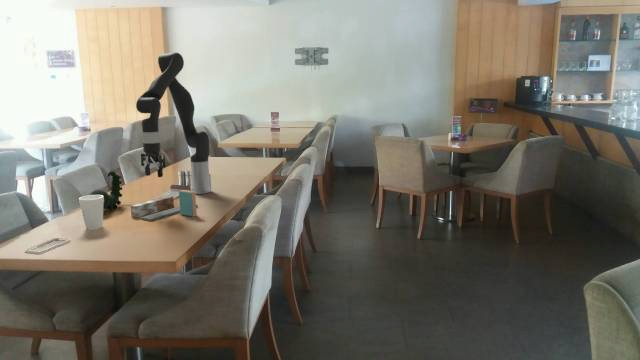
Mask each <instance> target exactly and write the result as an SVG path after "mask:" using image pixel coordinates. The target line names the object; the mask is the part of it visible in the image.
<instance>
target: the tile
mask: <svg viewBox="0 0 640 360" xmlns="http://www.w3.org/2000/svg"><path fill="white" fill-rule="evenodd" d="M178 196H179V199H178V200H179V206H180V215H185V216H190V217H193V216H194V217H195V215H198V214H197V213H198V212H197V208H196V205H197V200H196V199H197V198H196V197H197V196H196V194H195V192H194V191H193V190H186V189H181V190H179V191H178Z"/></svg>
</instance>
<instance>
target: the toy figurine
mask: <svg viewBox="0 0 640 360" xmlns="http://www.w3.org/2000/svg"><path fill="white" fill-rule="evenodd" d="M110 176H111V179H112V180H111V187H110V190H111V191H110V193H108V192H106V191H105V190H102V189H95V190H94V191H92V192H91V193H89V195H103V196H104V204H103V210H108V211H113V209H115V210H117V209H118V207H119V206H120V205H121V204H122V202H121V200H120V199H119V198H121V197H123V193H121V192H120V191H122V190H123V187H122V186H120V185H122V183H123V181H121V180H120V179H121V178H122V176H121V175H119V174H117V173H116V171H113V170H110V171H108V173H107V177H108V178H109V177H110Z"/></svg>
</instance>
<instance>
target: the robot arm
mask: <svg viewBox="0 0 640 360" xmlns="http://www.w3.org/2000/svg"><path fill="white" fill-rule="evenodd" d="M157 65H158V67H159V69H160V72H161V74H160V75H158V76H156V77H155V79H154V80H153V81H152V82H151V84H150V85H149V86H148V89H147V90H146V91H145V92H143V93H142V95H140V96H139V97H138V98H137V101H136V105H135V107H136V110H137V112H139V113H140V114H150V115H149V117H148V118H144V119H142V121H141V127H142V149H143V153H140V164H141V166H142V167H143V168H144V173H145V176H147V177H148V176H151V165H154V166H155V167H156V169H157V170H156V171H157V178H162V177H163V176H164V174H163V173H164V172H163V169H165V168H166V167H167V166H166V159H165V158H166V157H165V154H160V152H161V150H162V149H161V137H160V132H159V120H160V119H159V118H160V113H161V107H162V104H161V102H160V101H161V100H162V98H163V97H164V95H165V92H166V91H167V88H168V90H169V92H170V96H171V99H172V102H173V104H174V107H175V109H176V112H177V114H178V117H179V120H180V123H181V127H182V130H183V134H184V139H185V141H186V145H188V147H189V148H191V149H192V148H193V149H195V153H194V154H192V155H191V156H190V171H191V174H190V175H191V188H192V191H194V192H195V195H204V194H209V193H211V192H212V180H211V179H212V176H211V173H210V167H209V156H210V136H209V135H208V133H207V132H206V131H203V130H197V129H196V127H195V124H194V115H195V104H194V101H193V98H192V95H191V93H190V92H189V91H188V89H186V87H184V86H183V85H182V84H181V83H180V82H179V81H178V80H177V76H178V75H179V73H180V72H181V71H182V70H183V68H184V65H185V61H184V57H183V56H182V54H181V53H179V52H169V53H167V52H166V53H162V54H159V56H158V57H157Z"/></svg>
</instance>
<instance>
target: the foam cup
mask: <svg viewBox="0 0 640 360" xmlns="http://www.w3.org/2000/svg"><path fill="white" fill-rule="evenodd" d="M78 201H79V204H78V205H80V210H81V213H82V217H83V221H84V225H85V228H86V230H90V231H91V230H92V231H93V230H98V229H102V228H103V226H104V225H103V224H104V209H103V204H104V196H103V195H90V194H89V195H88V194H87V195H84V196H83V195H82V196H80V197H79V198H78Z"/></svg>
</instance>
